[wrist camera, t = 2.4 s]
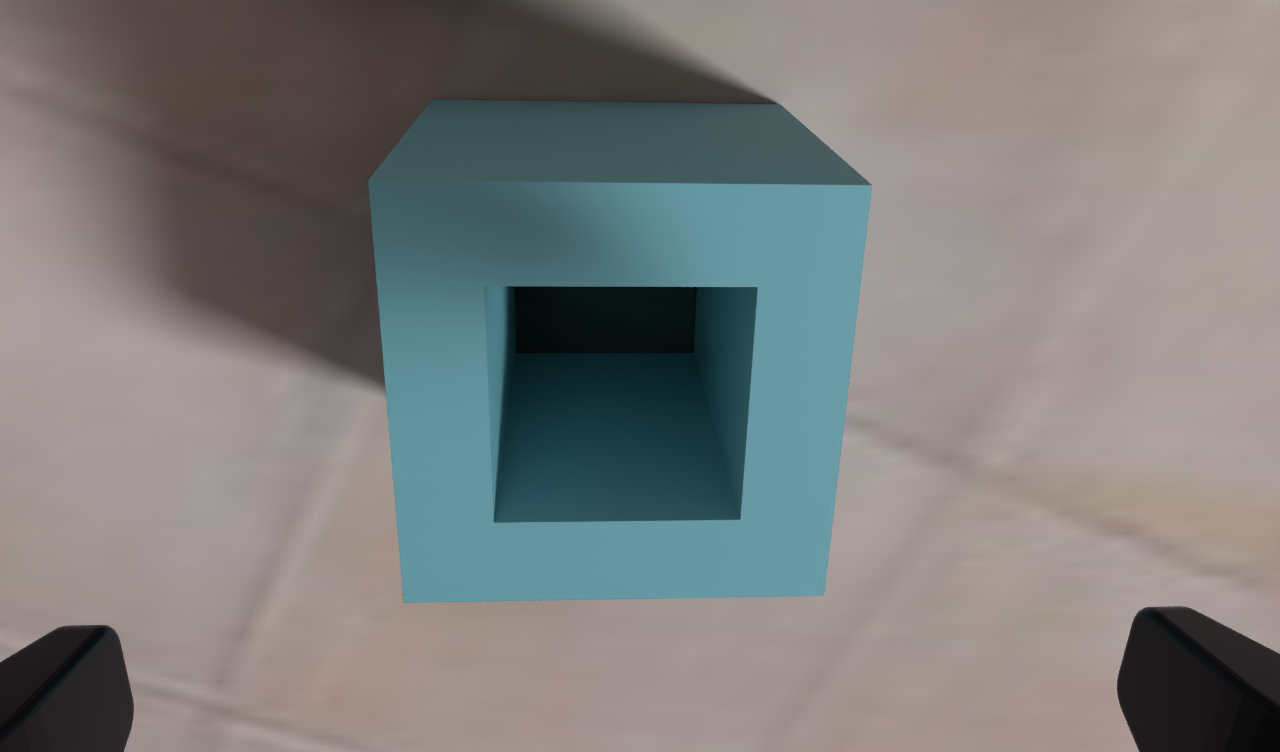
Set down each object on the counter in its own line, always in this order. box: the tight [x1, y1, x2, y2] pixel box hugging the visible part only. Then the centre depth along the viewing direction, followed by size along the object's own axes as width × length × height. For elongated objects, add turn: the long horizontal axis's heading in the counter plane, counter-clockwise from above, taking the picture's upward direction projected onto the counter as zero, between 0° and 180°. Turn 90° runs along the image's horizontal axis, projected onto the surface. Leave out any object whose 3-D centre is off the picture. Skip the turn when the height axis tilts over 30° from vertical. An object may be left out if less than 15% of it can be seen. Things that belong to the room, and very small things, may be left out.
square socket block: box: [368, 99, 872, 603], centre depth 16 cm, size 6×6×6 cm
